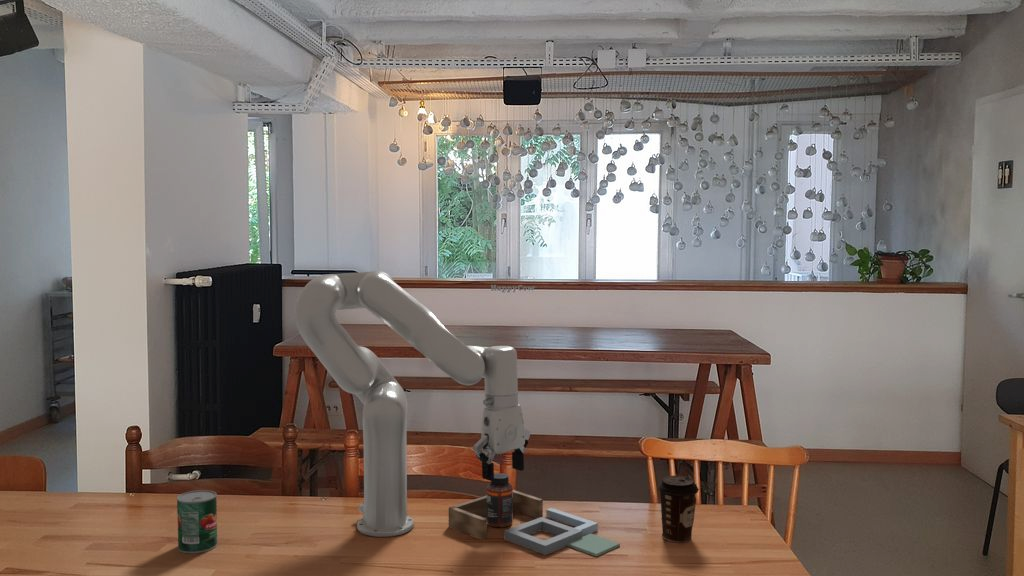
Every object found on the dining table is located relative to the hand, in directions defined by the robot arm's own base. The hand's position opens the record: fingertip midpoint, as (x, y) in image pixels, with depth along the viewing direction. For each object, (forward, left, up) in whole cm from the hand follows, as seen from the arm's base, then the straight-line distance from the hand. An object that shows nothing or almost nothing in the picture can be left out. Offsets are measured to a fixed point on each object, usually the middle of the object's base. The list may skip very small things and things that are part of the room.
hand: (503, 474), depth 190 cm
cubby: (-1, -1, -12) cm, 12 cm away
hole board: (+13, -1, -12) cm, 17 cm away
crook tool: (+11, +9, -12) cm, 18 cm away
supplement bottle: (-1, -1, -12) cm, 12 cm away
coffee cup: (+33, +21, -12) cm, 41 cm away
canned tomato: (-36, -56, -12) cm, 67 cm away
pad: (+23, +4, -12) cm, 26 cm away
